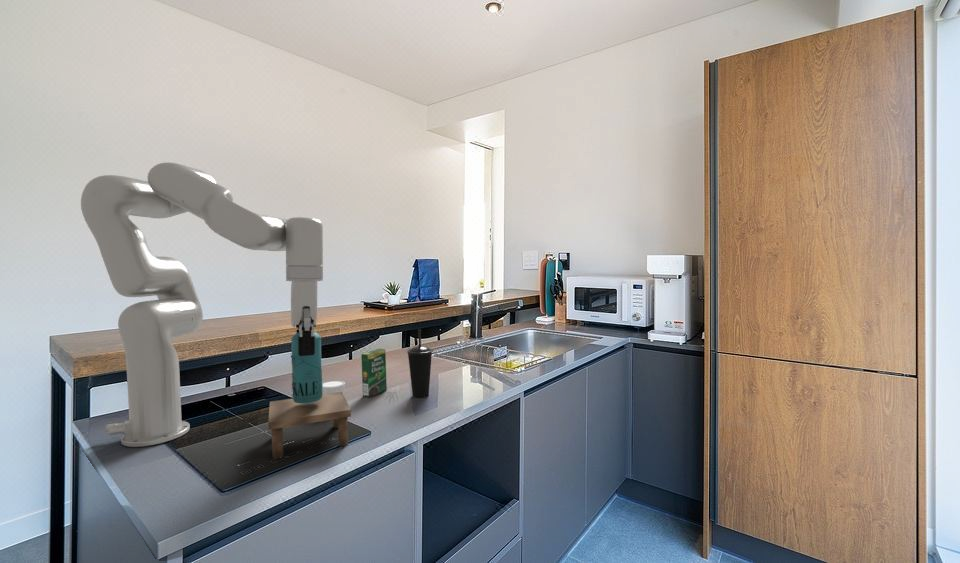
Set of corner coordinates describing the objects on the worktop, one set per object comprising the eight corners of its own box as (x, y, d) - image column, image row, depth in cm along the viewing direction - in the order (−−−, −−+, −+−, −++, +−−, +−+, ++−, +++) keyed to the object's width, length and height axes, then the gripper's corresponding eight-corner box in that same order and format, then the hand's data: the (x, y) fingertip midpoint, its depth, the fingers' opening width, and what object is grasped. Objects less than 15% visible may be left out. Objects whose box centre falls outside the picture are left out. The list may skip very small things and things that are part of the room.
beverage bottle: (314, 398, 98) (311, 314, 97) (329, 404, 93) (327, 316, 93) (286, 406, 93) (283, 317, 92) (301, 413, 88) (298, 320, 87)
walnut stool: (269, 461, 84) (268, 422, 83) (270, 435, 96) (269, 401, 96) (351, 445, 91) (350, 409, 90) (342, 423, 103) (341, 391, 103)
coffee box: (368, 398, 122) (367, 354, 121) (361, 396, 124) (360, 353, 123) (387, 390, 129) (386, 349, 128) (380, 389, 131) (379, 348, 130)
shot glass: (337, 414, 109) (337, 388, 109) (314, 412, 111) (313, 386, 110) (350, 405, 116) (350, 380, 116) (328, 403, 118) (327, 379, 117)
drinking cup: (403, 398, 122) (402, 330, 121) (413, 390, 129) (412, 326, 128) (428, 400, 120) (427, 331, 119) (436, 392, 127) (436, 327, 126)
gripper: (285, 272, 98) (286, 344, 99) (286, 275, 82) (287, 361, 83) (319, 272, 101) (319, 342, 102) (326, 275, 85) (327, 357, 86)
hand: (305, 350), depth 92 cm, fingers open, 9 cm apart
